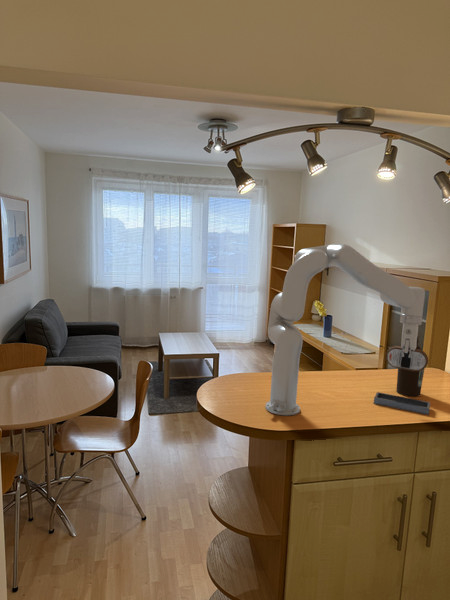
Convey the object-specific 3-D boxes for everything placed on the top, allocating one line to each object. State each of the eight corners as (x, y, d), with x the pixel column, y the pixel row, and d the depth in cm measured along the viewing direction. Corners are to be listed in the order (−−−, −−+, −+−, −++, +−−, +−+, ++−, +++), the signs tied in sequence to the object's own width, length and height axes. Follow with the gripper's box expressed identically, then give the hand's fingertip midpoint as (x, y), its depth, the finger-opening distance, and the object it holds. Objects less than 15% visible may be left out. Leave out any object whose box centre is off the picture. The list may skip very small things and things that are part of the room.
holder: (428, 415, 159) (429, 408, 159) (373, 403, 168) (374, 397, 168) (429, 408, 166) (430, 402, 165) (376, 397, 175) (377, 391, 174)
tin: (427, 372, 162) (429, 350, 162) (426, 373, 160) (429, 351, 159) (385, 364, 169) (387, 344, 169) (384, 366, 167) (386, 345, 166)
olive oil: (392, 393, 180) (399, 335, 177) (396, 387, 189) (403, 331, 186) (420, 399, 175) (427, 340, 172) (423, 392, 184) (429, 335, 181)
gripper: (420, 323, 153) (414, 373, 156) (423, 317, 167) (417, 363, 170) (398, 321, 157) (392, 369, 159) (402, 315, 171) (397, 360, 173)
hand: (405, 365), depth 165 cm, fingers closed on tin, 2 cm apart
